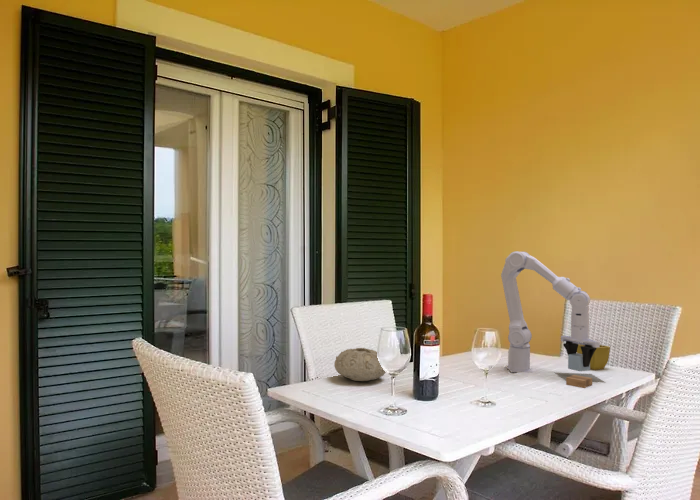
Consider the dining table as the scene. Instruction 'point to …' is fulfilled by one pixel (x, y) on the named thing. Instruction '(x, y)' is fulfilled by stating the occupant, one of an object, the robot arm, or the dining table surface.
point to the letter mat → (564, 375)
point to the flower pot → (598, 357)
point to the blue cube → (576, 362)
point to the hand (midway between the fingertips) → (579, 365)
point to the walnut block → (578, 381)
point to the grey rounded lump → (359, 364)
